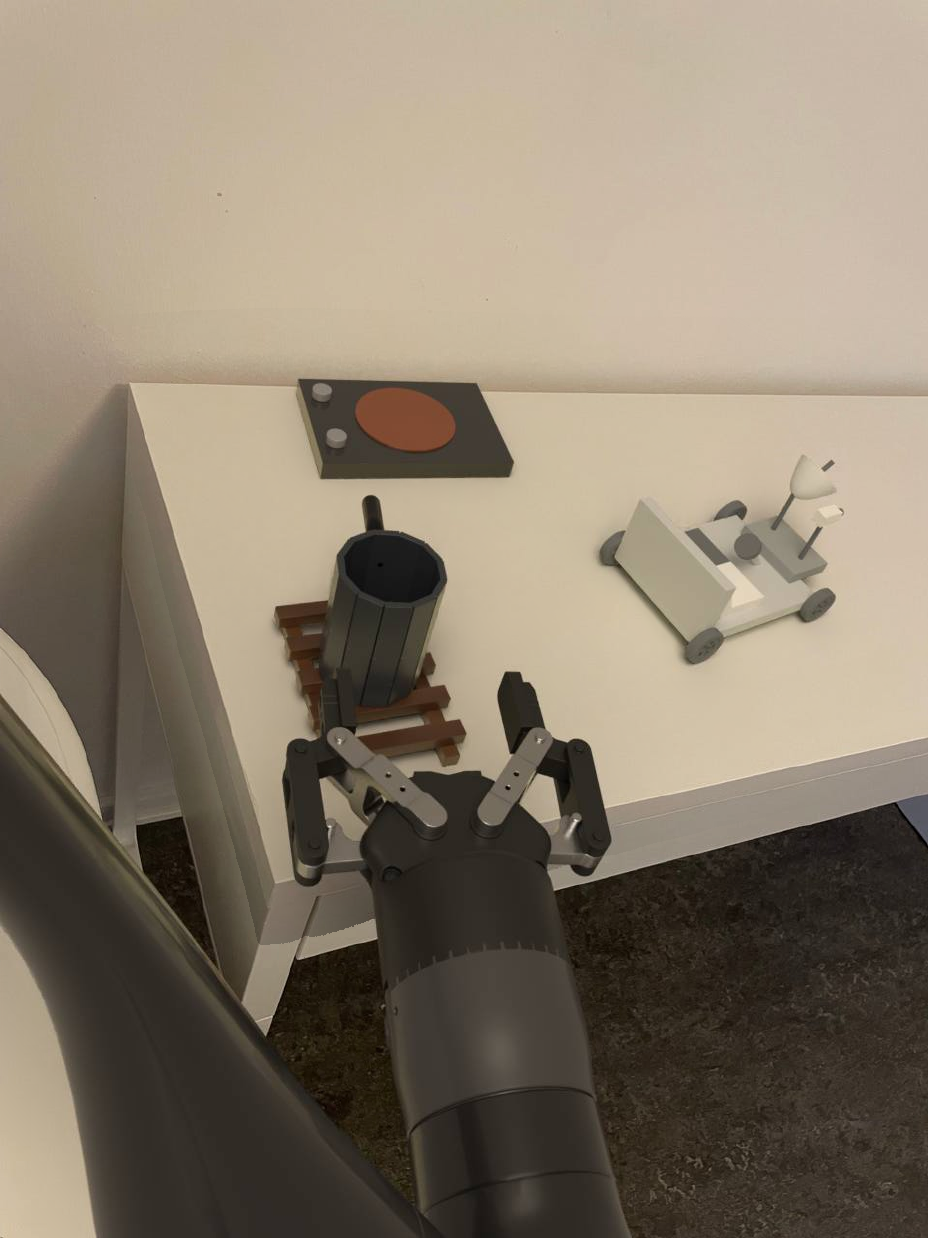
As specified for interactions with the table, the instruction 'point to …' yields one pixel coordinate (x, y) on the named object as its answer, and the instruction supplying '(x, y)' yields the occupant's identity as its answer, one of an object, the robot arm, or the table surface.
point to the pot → (381, 610)
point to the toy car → (727, 565)
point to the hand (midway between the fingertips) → (425, 680)
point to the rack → (385, 743)
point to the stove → (401, 429)
